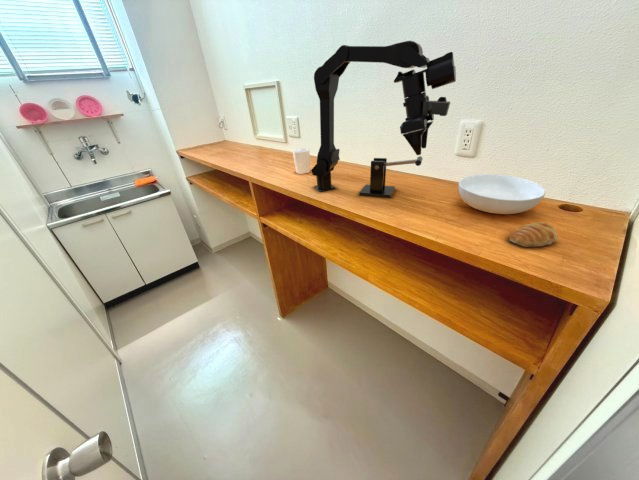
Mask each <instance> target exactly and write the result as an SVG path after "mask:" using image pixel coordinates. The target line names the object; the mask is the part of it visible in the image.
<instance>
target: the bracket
mask: <svg viewBox="0 0 639 480" xmlns="http://www.w3.org/2000/svg"><path fill="white" fill-rule="evenodd" d="M382 160H383V161H382ZM387 160H388V158H387V157H374V158H373V160H370V174H369V175H370V176H369V177H370V178H369V184H367V183H366V184H364V186H363V187H362V188H361V190H359V193H358V195H359V197H369V198H370V197H371V198H383V199H391V198H392V196H393V194H394V193H395V192H394V191H395V190H396V186H394V185H386V179H387V166H384V163H386V162H388V161H387Z"/></svg>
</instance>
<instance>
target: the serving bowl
mask: <svg viewBox="0 0 639 480" xmlns="http://www.w3.org/2000/svg"><path fill="white" fill-rule="evenodd" d="M457 187H458V188H457V190H458V191H457V192H458V195H459V197H460V199H461V200H462V201H463V202H464V203H465V204H466V205H468V206H469V207H471V208H473V209H475V210H479V211H481V212H484V213H489V214H496V215H514V214H515V215H516V214H520V213H524V212H527V211H529V210H532V209H533V208H534V207H536V206H537V205H538V204H539V203H541V202H542V200H543V199H544V197H545V195H546V194H547V193H546V192H547V191H546V188H545V187H543V186H542V185H540V184H539V183H537V182H535V181H532V180H529V179H526V178H522V177H519V176H513V175H506V174H496V173H495V174H493V173H479V174H471V175H467V176H464V177H462V178H461V179H459V180H458V184H457Z"/></svg>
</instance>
